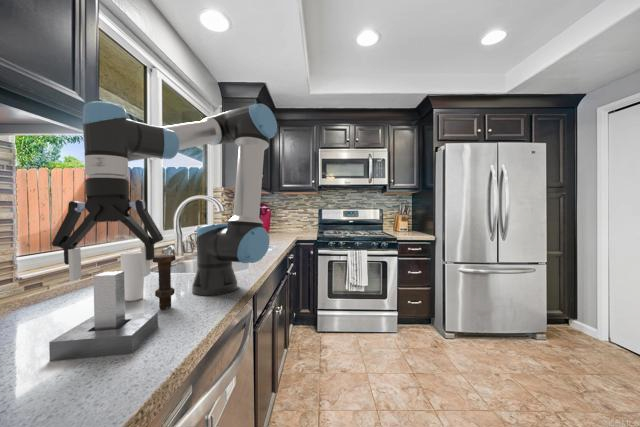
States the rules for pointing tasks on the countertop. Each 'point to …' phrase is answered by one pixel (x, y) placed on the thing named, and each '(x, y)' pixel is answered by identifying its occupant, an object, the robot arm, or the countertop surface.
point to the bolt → (164, 280)
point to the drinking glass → (132, 275)
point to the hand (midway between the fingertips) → (111, 277)
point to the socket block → (103, 338)
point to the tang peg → (109, 301)
